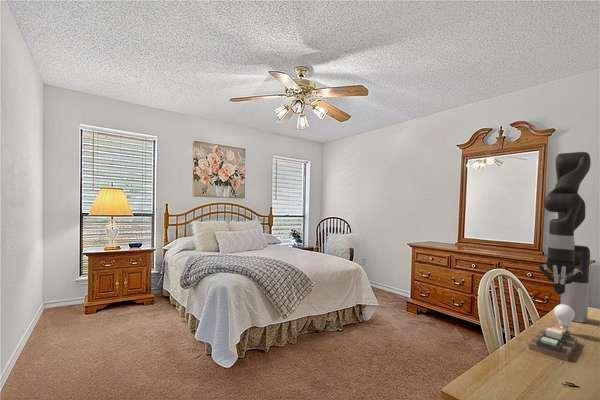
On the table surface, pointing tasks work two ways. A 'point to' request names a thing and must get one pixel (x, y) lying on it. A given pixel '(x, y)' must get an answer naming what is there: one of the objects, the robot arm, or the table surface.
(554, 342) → the sage button
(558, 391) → the table surface
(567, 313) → the lightbulb
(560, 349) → the button board
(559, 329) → the terracotta button
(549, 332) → the offwhite button
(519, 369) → the table surface
